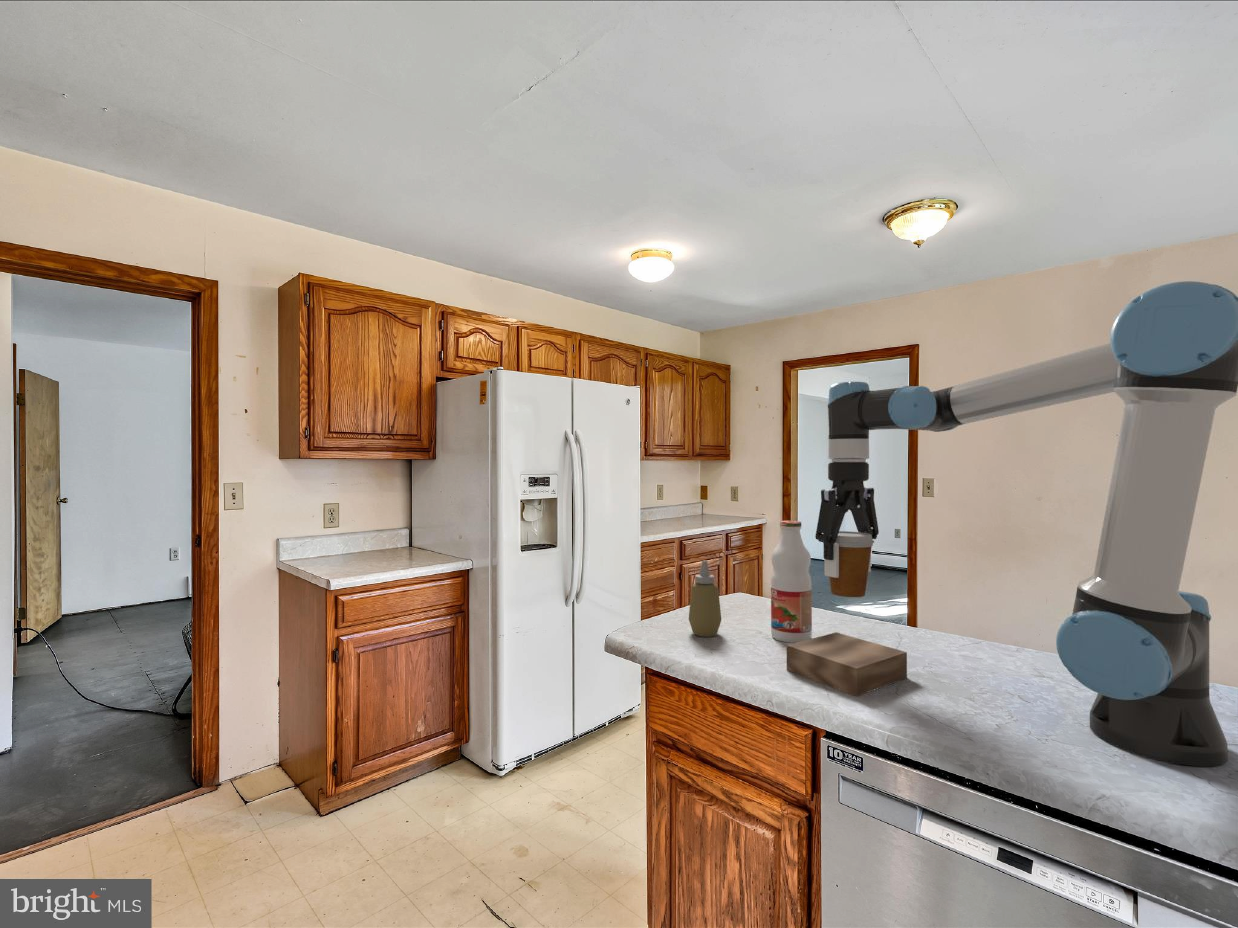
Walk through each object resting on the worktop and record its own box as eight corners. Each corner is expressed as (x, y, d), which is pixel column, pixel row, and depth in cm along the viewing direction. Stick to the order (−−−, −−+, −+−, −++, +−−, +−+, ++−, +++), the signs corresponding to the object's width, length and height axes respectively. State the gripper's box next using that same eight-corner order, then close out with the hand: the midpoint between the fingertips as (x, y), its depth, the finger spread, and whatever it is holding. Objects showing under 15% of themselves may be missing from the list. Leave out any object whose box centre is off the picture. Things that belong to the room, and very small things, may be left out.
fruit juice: (819, 642, 135) (818, 522, 135) (781, 644, 133) (780, 523, 133) (800, 631, 144) (799, 519, 144) (764, 632, 143) (764, 519, 143)
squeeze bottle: (724, 638, 138) (723, 563, 138) (690, 638, 138) (689, 563, 138) (718, 629, 146) (718, 558, 146) (687, 629, 146) (686, 558, 146)
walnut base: (906, 677, 113) (906, 652, 113) (856, 696, 104) (856, 668, 104) (836, 655, 126) (836, 632, 126) (786, 669, 117) (786, 645, 117)
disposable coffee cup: (879, 600, 109) (879, 537, 109) (826, 598, 111) (826, 536, 111) (868, 589, 118) (868, 531, 118) (819, 587, 120) (819, 530, 120)
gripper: (865, 460, 124) (864, 564, 124) (795, 461, 112) (795, 576, 112) (898, 460, 117) (898, 570, 118) (828, 461, 105) (828, 583, 106)
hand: (847, 573), depth 115 cm, fingers closed on disposable coffee cup, 9 cm apart
